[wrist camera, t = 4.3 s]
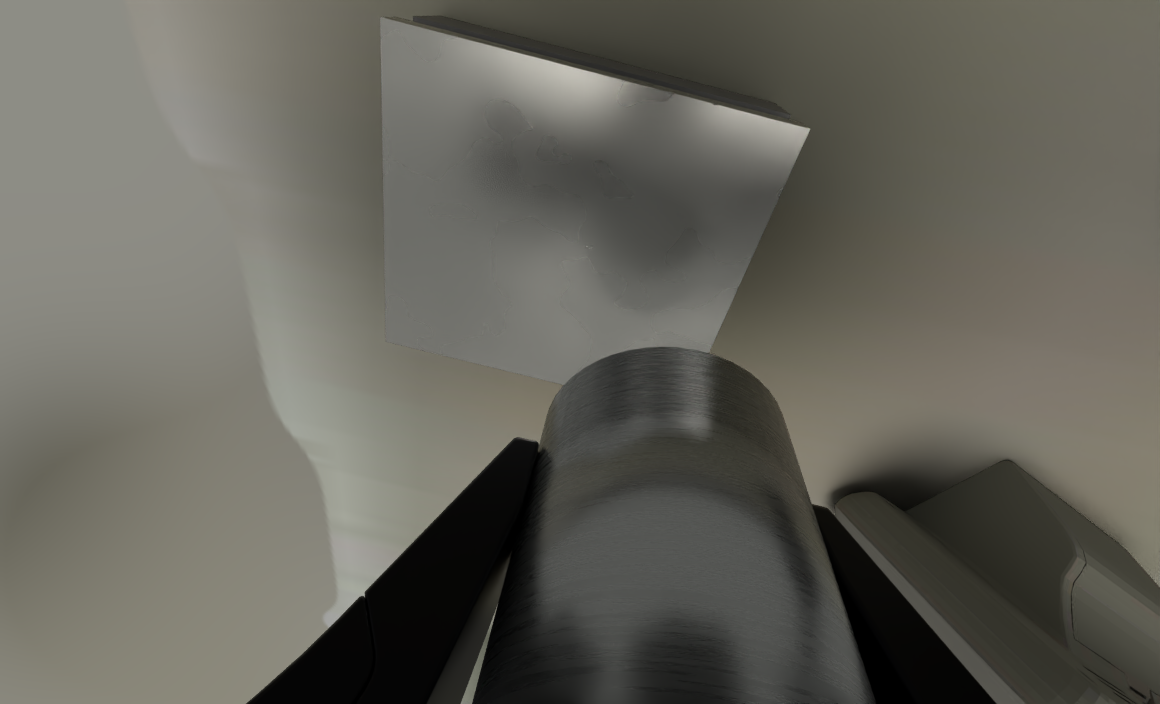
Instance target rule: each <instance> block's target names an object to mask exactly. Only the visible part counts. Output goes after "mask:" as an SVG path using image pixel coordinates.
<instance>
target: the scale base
mask: <svg viewBox="0 0 1160 704" xmlns="http://www.w3.org/2000/svg"><path fill="white" fill-rule="evenodd" d="M413 21H414V22H418V23H421V24H425V25H429V26H433V27H437V28H441V29H444V30H448V31H452V32H456V33H460V34H464V35H467V36H471V37H475V38H479V39H483V40H487V41H490V42H494V43H498V44H502V45H506V46H510V47H514V48H517V49H521V50H525V51H529V52H533V53H537V54H540V55H544V56H548V57H552V58H556V59H560V60H563V61H567V62H571V63H575V64H579V65H583V66H586V67H590V68H594V69H598V70H602V71H606V72H609V73H613V74H617V75H621V76H625V77H629V78H632V79H636V80H640V81H644V82H648V83H652V84H655V85H659V86H663V87H667V88H671V89H675V90H679V91H682V92H686V93H690V94H694V95H698V96H702V97H705V98H709V99H713V100H717V101H721V102H725V103H728V104H732V105H736V106H740V107H744V108H748V109H751V110H755V111H759V112H763V113H767V114H771V115H774V116H778V117H782V118H786V119H789V118H790V116H791V115H790V114H789V113H788V112H786V111H785V110H784V109H782V108H781V107H780V106H778V105H777V104H775V103H772V102H768V101H765V100H761V99H757V98H753V97H749V96H746V95H742V94H738V93H734V92H730V91H726V90H723V89H719V88H715V87H711V86H707V85H703V84H700V83H696V82H692V81H688V80H684V79H680V78H677V77H673V76H669V75H665V74H661V73H657V72H654V71H650V70H646V69H642V68H638V67H635V66H631V65H627V64H623V63H619V62H615V61H612V60H608V59H604V58H600V57H596V56H592V55H589V54H585V53H581V52H577V51H573V50H569V49H566V48H562V47H558V46H554V45H550V44H547V43H543V42H539V41H535V40H531V39H527V38H524V37H520V36H516V35H512V34H508V33H504V32H501V31H497V30H493V29H489V28H485V27H481V26H478V25H474V24H470V23H466V22H462V21H458V20H455V19H451V18H447V17H443V16H413Z"/></svg>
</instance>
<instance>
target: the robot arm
mask: <svg viewBox="0 0 1160 704" xmlns="http://www.w3.org/2000/svg"><path fill="white" fill-rule="evenodd" d="M538 449H539V444H538V442H536V441H533V440H528V439H524V438H520V437H517V438H514V439H513V440H512V441H511V442H510V443H509V444H508V445H507V446H506V447H505V448H504V449H503V450H502V451H501V452H500V453H499V454H498V455H497V456H496V457H495V458H494V459H493V460H492V462H491V463H490V464H489V465H488V466H487V467H486V468H485V469H484V470H483V471H482V472H481V473H480V474H479V475H478V476H477V477H476V478H475V479H474V480H473V481H472V482H471V483H470V484H469V485H468V486H467V487H466V488H465V489H464V490H463V491H462V492H461V493H460V494H459V495H458V497H457V498H456V499H455V500H454V501H453V502H452V503H451V504H450V505H449V506H448V507H447V508H446V509H445V510H444V511H443V512H442V513H441V514H440V515H439V516H438V517H437V518H436V519H435V520H434V521H433V522H432V523H431V524H430V525H429V526H428V527H427V528H426V529H425V530H424V532H423V533H422V534H421V535H420V536H419V537H418V538H417V539H416V540H415V541H414V542H413V543H412V544H411V545H410V546H409V547H408V548H407V549H406V550H405V551H404V552H403V553H402V554H401V555H400V556H399V557H398V558H397V559H396V560H395V561H394V562H393V563H392V564H391V565H390V567H389V568H388V569H387V570H386V571H385V572H384V573H383V574H382V575H381V576H380V577H379V578H378V579H377V580H376V581H375V582H374V583H373V584H372V585H371V586H370V587H369V588H368V589H367V590H366V591H365V597H364V596H361V597H359V598H358V599H357V600H356V601H355V602H354V603H353V604H352V605H351V606H350V607H349V608H348V609H347V610H346V611H345V612H344V613H343V615H342V616H341V617H340V618H339V619H338V620H337V621H336V622H335V623H334V624H333V625H332V626H331V627H329V628H328V630H326V631H325V632H324V633H323V634H322V635H321V636H320V637H319V638H318V639H317V640H316V641H315V642H314V643H313V644H312V645H311V646H310V647H309V648H308V649H307V650H306V651H305V652H304V653H303V654H302V655H301V656H300V657H299V658H297V659H296V660H295V661H294V662H293V663H292V664H291V665H289V666H288V667H287V668H286V669H285V670H284V671H283V672H282V673H281V674H279V675H278V676H277V677H276V678H275V679H274V680H273V681H272V682H271V683H269V684H268V685H267V686H266V687H265V688H264V689H263V690H261V691H260V692H259V693H258V694H257V695H256V696H255V697H253V698H252V699H251V700H250V701H249V702H247V703H246V704H461V701H462V698H463V695H464V693H465V690H466V687H467V685H468V682H469V679H470V677H471V674H472V671H473V669H474V666H475V663H476V661H477V658H478V655H479V653H480V650H481V647H482V645H483V642H484V639H485V637H486V634H487V631H488V629H489V626H490V623H491V621H492V618H493V615H494V613H495V610H496V607H497V605H498V602H499V598H500V594H501V591H502V587H503V583H504V579H505V575H506V571H507V567H508V564H509V560H510V556H511V552H512V548H513V544H514V541H515V537H516V534H517V530H518V527H519V523H520V519H521V516H522V512H523V508H524V504H525V500H526V497H527V493H528V489H529V485H530V481H531V477H532V473H533V469H534V465H535V462H536V458H537V454H538ZM812 507H813V510H814V513H815V516H816V519H817V522H818V525H819V528H820V531H821V534H822V537H823V540H824V544H825V547H826V550H827V553H828V556H829V559H830V562H831V565H832V568H833V571H834V574H835V578H836V581H837V584H838V587H839V590H840V593H841V596H842V599H843V602H844V605H845V608H846V611H847V615H848V618H849V621H850V624H851V627H852V630H853V633H854V636H855V639H856V642H857V645H858V648H859V652H860V655H861V658H862V661H863V664H864V667H865V670H866V673H867V676H868V679H869V682H870V685H871V689H872V692H873V695H874V698H875V701H876V704H997V703H996V702H995V701H994V700H993V699H992V697H991V696H990V695H989V694H988V693H987V692H986V691H985V689H984V688H983V687H982V686H981V685H980V684H979V682H978V681H977V680H976V679H975V678H974V677H973V675H972V674H971V673H970V672H969V671H968V670H967V669H966V667H965V666H964V665H963V664H962V663H961V662H960V660H959V659H958V658H957V657H956V656H955V655H954V653H953V652H952V651H951V650H950V649H949V648H948V647H947V645H946V644H945V643H944V642H943V641H942V640H941V638H940V637H939V636H938V635H937V634H936V633H935V631H934V630H933V629H932V628H931V627H930V626H929V625H928V623H927V622H926V621H925V620H924V619H923V618H922V616H921V615H920V614H919V613H918V612H917V611H916V609H915V608H914V607H913V606H912V605H911V604H910V603H909V601H908V600H907V599H906V598H905V597H904V596H903V594H902V593H901V592H900V591H899V590H898V589H897V587H896V586H895V585H894V584H893V583H892V582H891V581H890V579H889V578H888V577H887V576H886V575H885V574H884V572H883V571H882V570H881V569H880V568H879V567H878V565H877V564H876V563H875V562H874V561H873V560H872V559H871V557H870V556H869V555H868V554H867V553H866V552H865V550H864V549H863V548H862V547H861V546H860V545H859V543H858V542H857V541H856V540H855V539H854V538H853V537H852V535H851V534H850V533H849V532H848V531H847V530H846V528H845V527H844V526H843V525H842V524H841V523H840V521H839V520H838V519H837V518H836V517H835V516H834V515H833V513H832V512H831V511H830V510H829V509H827V508H825V507H822V506H818V505H814V504H812Z"/></svg>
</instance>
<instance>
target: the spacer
mask: <svg viewBox="0 0 1160 704" xmlns="http://www.w3.org/2000/svg"><path fill="white" fill-rule="evenodd" d="M472 704H876V701H875V698H874V695H873V692H872V689H871V685H870V682H869V679H868V676H867V673H866V670H865V667H864V664H863V661H862V658H861V655H860V652H859V648H858V645H857V642H856V639H855V636H854V633H853V630H852V627H851V624H850V621H849V618H848V615H847V611H846V608H845V605H844V602H843V599H842V596H841V593H840V590H839V587H838V584H837V581H836V578H835V574H834V571H833V568H832V565H831V562H830V559H829V556H828V553H827V550H826V547H825V544H824V540H823V537H822V534H821V531H820V528H819V525H818V522H817V519H816V516H815V513H814V510H813V507H812V503H811V500H810V497H809V494H808V491H807V488H806V485H805V482H804V479H803V476H802V473H801V470H800V466H799V463H798V460H797V457H796V454H795V451H794V448H793V445H792V442H791V439H790V436H789V433H788V429H787V426H786V423H785V420H784V417H783V414H782V412H781V410H780V407H779V405H778V403H777V401H776V400H775V398H774V397H773V395H772V394H771V393H770V391H769V390H768V389H767V388H766V387H765V386H764V385H763V384H762V383H761V382H760V381H759V380H758V379H757V378H756V377H754V376H753V375H752V374H751V373H749V372H748V371H747V370H745V369H743V368H741V367H740V366H738V365H736V364H735V363H733V362H731V361H728V360H726V359H723V358H721V357H719V356H716V355H713V354H709V353H706V352H702V351H698V350H692V349H687V348H678V347H646V348H640V349H633V350H628V351H624V352H620V353H617V354H613V355H610V356H608V357H605V358H603V359H600V360H598V361H596V362H594V363H592V364H591V365H589V366H587V367H585V368H584V369H582V370H581V371H579V372H578V373H577V374H575V375H574V376H573V377H572V378H571V379H570V380H569V381H568V382H567V383H566V384H565V385H564V386H563V387H562V388H561V389H560V391H559V392H558V393H557V395H556V396H555V398H554V400H553V402H552V404H551V406H550V407H549V411H548V414H547V417H546V421H545V425H544V428H543V432H542V436H541V440H540V444H539V449H538V454H537V458H536V462H535V465H534V469H533V473H532V477H531V481H530V485H529V489H528V493H527V497H526V500H525V504H524V508H523V512H522V516H521V519H520V523H519V527H518V530H517V534H516V537H515V541H514V544H513V548H512V552H511V556H510V560H509V564H508V567H507V571H506V575H505V579H504V583H503V587H502V591H501V594H500V598H499V602H498V606H497V610H496V614H495V618H494V621H493V625H492V629H491V633H490V637H489V641H488V645H487V648H486V652H485V656H484V660H483V664H482V668H481V672H480V675H479V679H478V683H477V687H476V691H475V695H474V699H473V702H472Z"/></svg>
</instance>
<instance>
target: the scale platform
mask: <svg viewBox="0 0 1160 704" xmlns="http://www.w3.org/2000/svg"><path fill="white" fill-rule="evenodd" d="M380 35H381V92H382V150H383V208H384V266H385V324H386V342H389V343H393V344H397V345H401V346H405V347H410V348H414V349H418V350H422V351H426V352H430V353H434V354H438V355H443V356H447V357H451V358H455V359H459V360H463V361H467V362H471V363H475V364H480V365H484V366H488V367H492V368H496V369H500V370H504V371H508V372H512V373H517V374H521V375H525V376H529V377H533V378H537V379H541V380H545V381H549V382H554V383H558V384H562V385H565V384H566V383H567V382H568V381H569V380H570V379H571V378H572V377H573V376H574V375H575V374H577V373H578V372H579V371H581V370H582V369H584V368H585V367H587V366H589V365H591V364H592V363H594V362H596V361H598V360H600V359H603V358H605V357H608V356H610V355H613V354H617V353H620V352H624V351H628V350H633V349H640V348H646V347H678V348H687V349H692V350H698V351H702V352H706V353H709V352H710V349H711V347H712V345H713V343H714V340H715V338H716V336H717V334H718V332H719V329H720V327H721V325H722V323H723V321H724V318H725V316H726V314H727V312H728V310H729V307H730V305H731V303H732V301H733V298H734V296H735V294H736V292H737V290H738V287H739V285H740V283H741V281H742V279H743V276H744V274H745V272H746V270H747V268H748V265H749V263H750V261H751V259H752V256H753V254H754V252H755V250H756V248H757V245H758V243H759V241H760V239H761V237H762V234H763V232H764V230H765V228H766V226H767V223H768V221H769V219H770V217H771V214H772V212H773V210H774V208H775V206H776V203H777V201H778V199H779V197H780V195H781V192H782V190H783V188H784V186H785V183H786V181H787V179H788V177H789V175H790V172H791V170H792V168H793V166H794V164H795V161H796V159H797V157H798V155H799V153H800V150H801V148H802V146H803V144H804V141H805V139H806V137H807V135H808V133H809V130H810V128H808V127H807V126H805V125H804V124H803V123H801V122H797V121H794V120H790V119H786V118H782V117H778V116H774V115H771V114H767V113H763V112H759V111H755V110H751V109H748V108H744V107H740V106H736V105H732V104H728V103H725V102H721V101H717V100H713V99H709V98H705V97H702V96H698V95H694V94H690V93H686V92H682V91H679V90H675V89H671V88H667V87H663V86H659V85H655V84H652V83H648V82H644V81H640V80H636V79H632V78H629V77H625V76H621V75H617V74H613V73H609V72H606V71H602V70H598V69H594V68H590V67H586V66H583V65H579V64H575V63H571V62H567V61H563V60H560V59H556V58H552V57H548V56H544V55H540V54H537V53H533V52H529V51H525V50H521V49H517V48H514V47H510V46H506V45H502V44H498V43H494V42H490V41H487V40H483V39H479V38H475V37H471V36H467V35H464V34H460V33H456V32H452V31H448V30H444V29H441V28H437V27H433V26H429V25H425V24H421V23H418V22H414V21H410V20H406V19H402V18H398V17H380Z"/></svg>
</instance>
